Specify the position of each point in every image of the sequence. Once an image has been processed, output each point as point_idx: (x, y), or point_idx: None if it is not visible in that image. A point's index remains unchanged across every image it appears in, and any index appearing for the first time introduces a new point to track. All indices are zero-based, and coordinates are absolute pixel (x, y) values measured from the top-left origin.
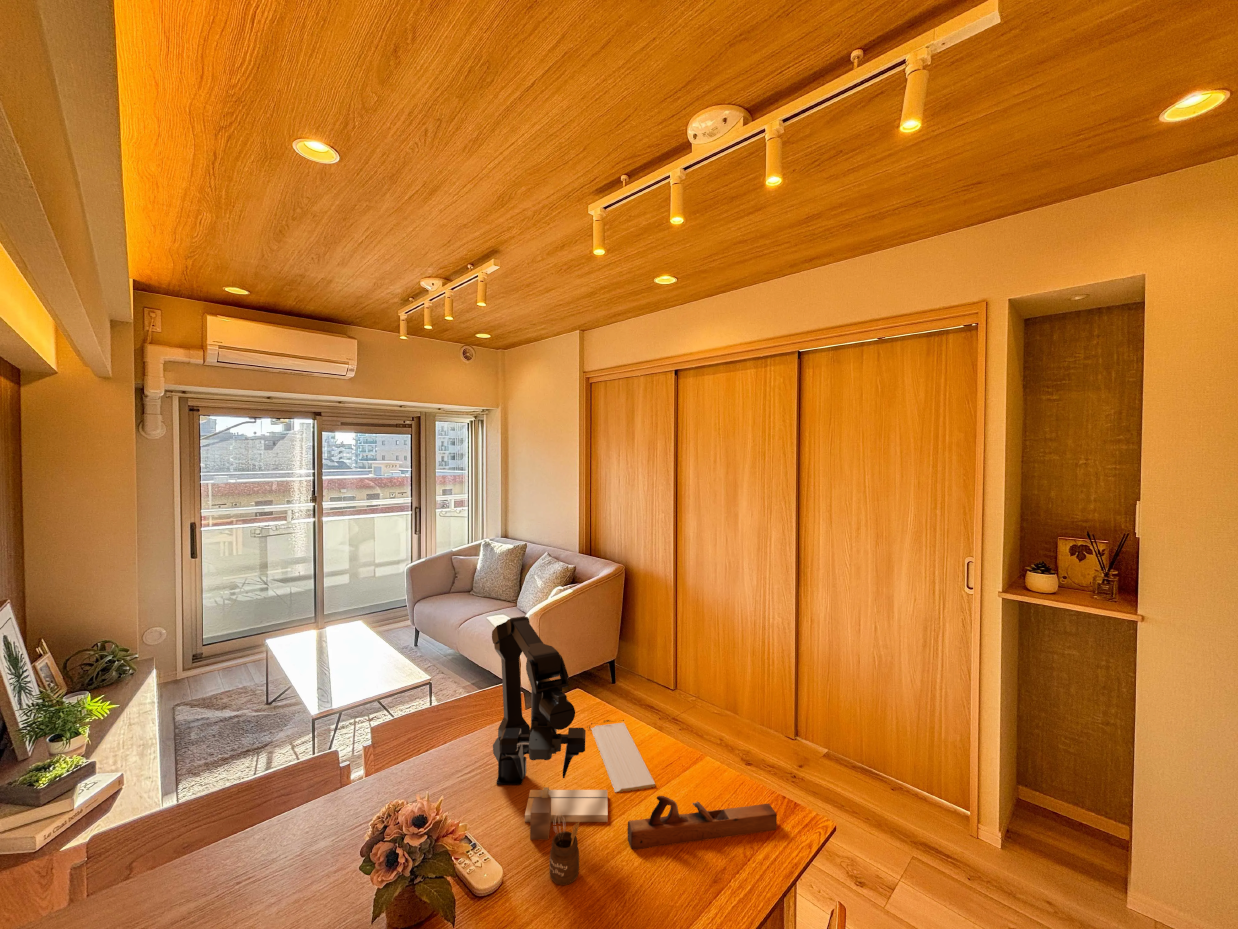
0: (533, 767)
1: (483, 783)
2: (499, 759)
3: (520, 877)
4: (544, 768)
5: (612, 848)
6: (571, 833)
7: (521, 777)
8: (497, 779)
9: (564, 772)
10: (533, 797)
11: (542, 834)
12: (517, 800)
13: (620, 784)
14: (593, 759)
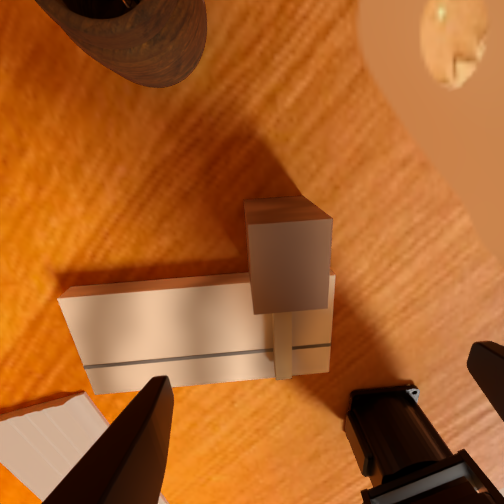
0: (325, 444)
1: (448, 385)
2: (472, 461)
3: (314, 2)
4: (297, 444)
5: (12, 173)
6: (60, 9)
7: (498, 346)
8: (417, 399)
9: (128, 421)
10: (316, 346)
11: (265, 202)
12: (356, 341)
13: (70, 418)
14: (177, 481)
